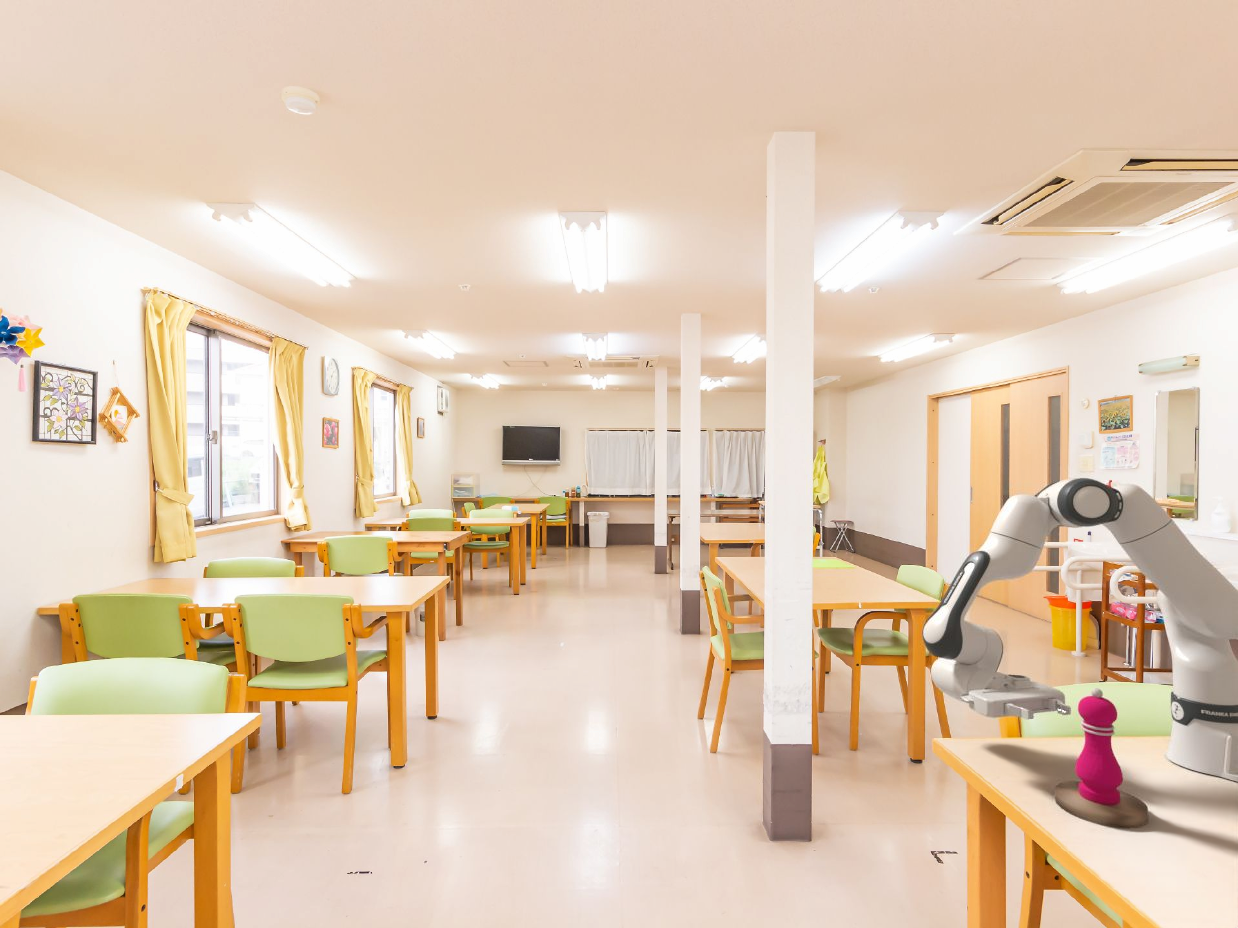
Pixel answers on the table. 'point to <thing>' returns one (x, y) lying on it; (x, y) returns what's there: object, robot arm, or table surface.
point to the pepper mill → (1098, 751)
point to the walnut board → (1102, 807)
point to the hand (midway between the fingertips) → (1049, 713)
